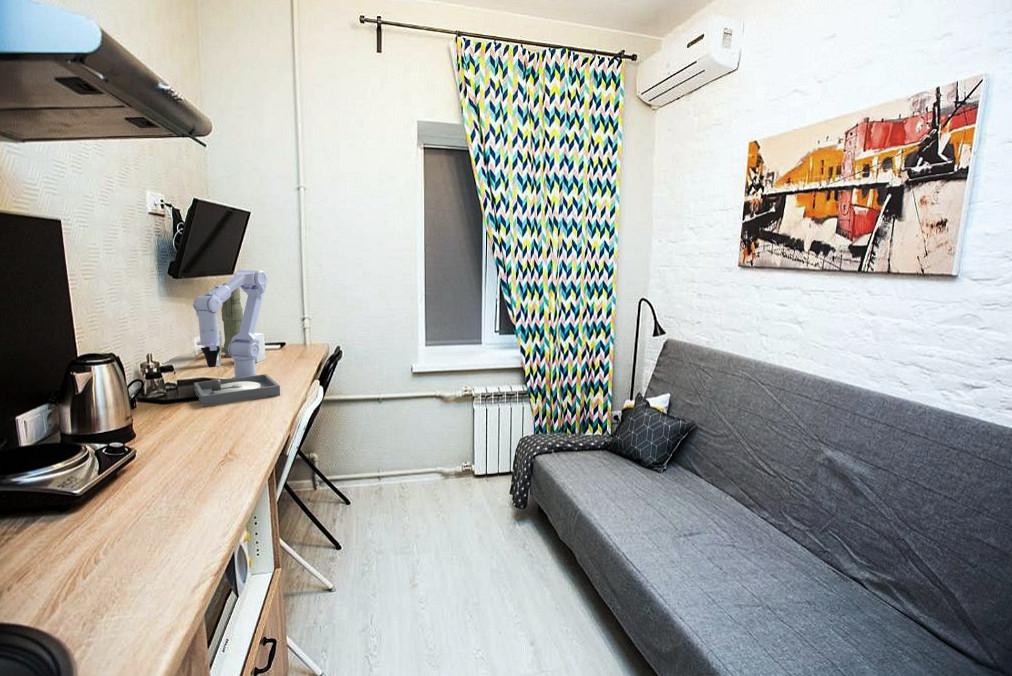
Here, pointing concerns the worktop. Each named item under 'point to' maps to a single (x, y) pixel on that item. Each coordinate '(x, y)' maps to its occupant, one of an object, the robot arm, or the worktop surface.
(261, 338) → the supplement box
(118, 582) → the worktop surface
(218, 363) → the beer glass
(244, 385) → the dial
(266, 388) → the bezel plate
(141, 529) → the worktop surface
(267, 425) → the worktop surface
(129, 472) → the worktop surface
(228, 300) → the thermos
